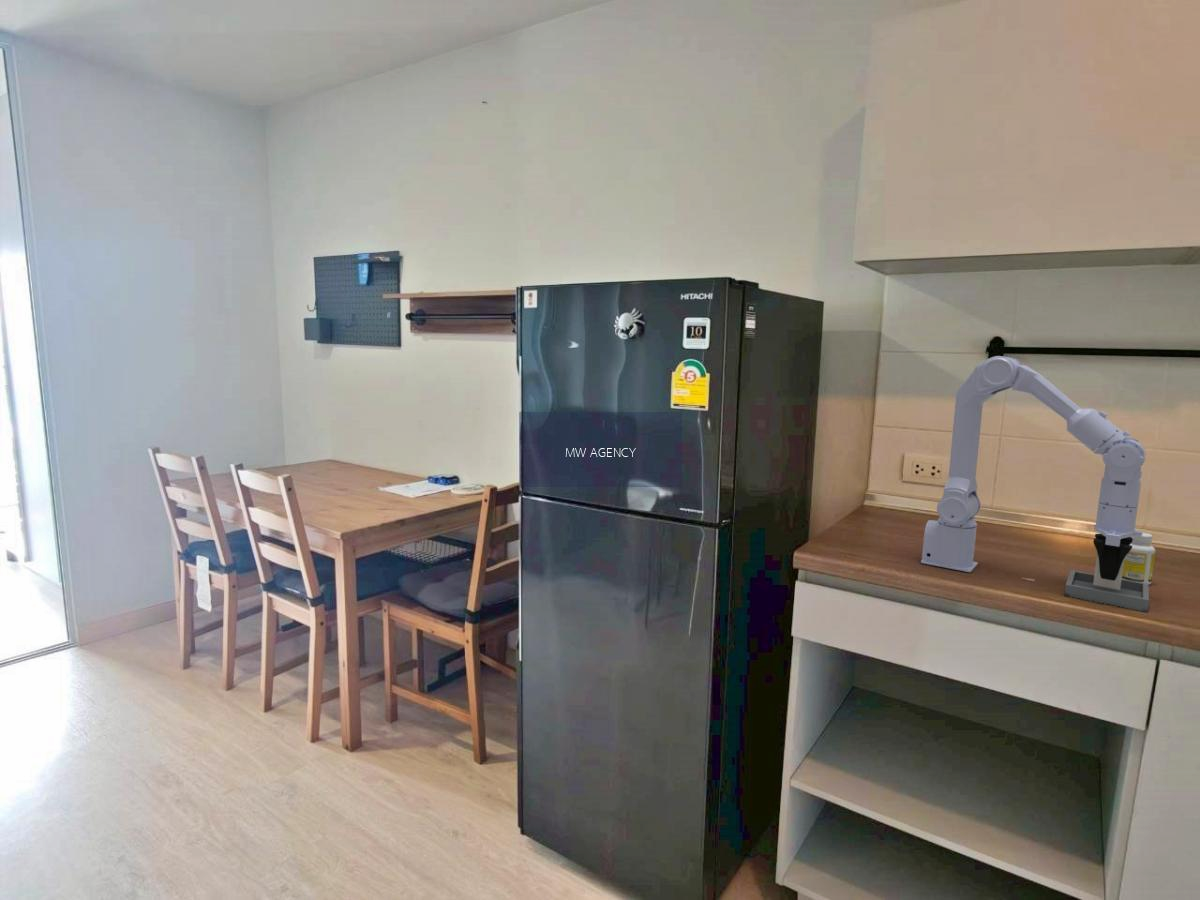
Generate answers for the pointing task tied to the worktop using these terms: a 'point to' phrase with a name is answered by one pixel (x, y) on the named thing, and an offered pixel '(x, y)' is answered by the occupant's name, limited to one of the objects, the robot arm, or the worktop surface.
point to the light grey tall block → (1105, 582)
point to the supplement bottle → (1139, 560)
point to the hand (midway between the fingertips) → (1108, 576)
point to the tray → (1108, 591)
